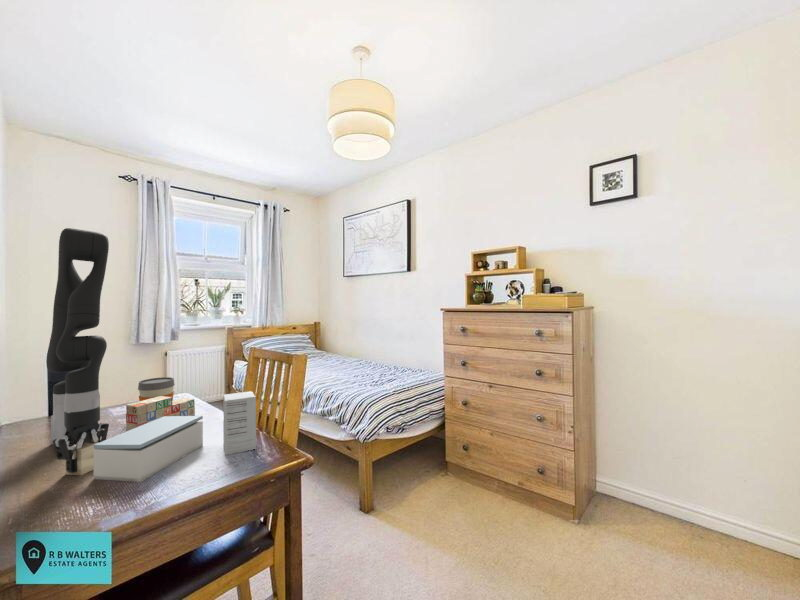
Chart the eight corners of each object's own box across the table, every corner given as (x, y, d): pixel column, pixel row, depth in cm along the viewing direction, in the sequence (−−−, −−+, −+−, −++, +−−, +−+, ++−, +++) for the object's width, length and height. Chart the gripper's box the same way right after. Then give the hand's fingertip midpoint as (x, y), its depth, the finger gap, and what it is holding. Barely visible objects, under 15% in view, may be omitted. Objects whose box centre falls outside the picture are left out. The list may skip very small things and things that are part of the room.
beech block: (65, 474, 98) (65, 448, 98) (84, 466, 103) (83, 441, 103) (81, 475, 97) (81, 449, 98) (99, 466, 102) (99, 442, 102)
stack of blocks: (184, 420, 143) (184, 389, 143) (195, 422, 140) (195, 391, 141) (125, 439, 123) (125, 404, 123) (137, 442, 121) (137, 406, 121)
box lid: (93, 448, 95) (93, 444, 95) (164, 419, 119) (164, 416, 119) (140, 448, 93) (140, 444, 93) (202, 418, 117) (202, 415, 117)
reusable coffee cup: (146, 413, 153) (146, 378, 153) (179, 410, 156) (179, 376, 156) (132, 422, 141) (131, 384, 141) (167, 419, 144) (167, 382, 144)
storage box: (93, 479, 95) (93, 449, 95) (164, 443, 119) (164, 419, 119) (140, 482, 93) (140, 451, 93) (202, 445, 117) (202, 421, 117)
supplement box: (256, 449, 114) (256, 396, 114) (224, 455, 109) (224, 400, 109) (253, 439, 122) (252, 390, 122) (223, 445, 117) (222, 393, 118)
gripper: (95, 399, 108) (95, 455, 108) (42, 414, 94) (42, 479, 94) (117, 400, 107) (117, 457, 107) (67, 415, 93) (67, 480, 93)
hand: (82, 467), depth 100 cm, fingers closed on beech block, 5 cm apart
